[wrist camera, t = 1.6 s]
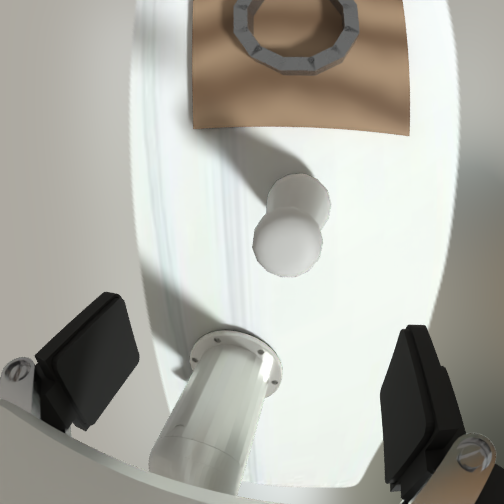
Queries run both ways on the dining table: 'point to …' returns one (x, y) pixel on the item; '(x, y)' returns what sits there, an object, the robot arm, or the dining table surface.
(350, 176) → the dining table surface
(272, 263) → the salt shaker
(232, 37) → the board
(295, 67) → the collar
